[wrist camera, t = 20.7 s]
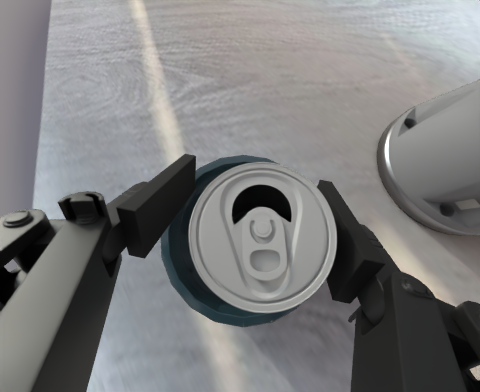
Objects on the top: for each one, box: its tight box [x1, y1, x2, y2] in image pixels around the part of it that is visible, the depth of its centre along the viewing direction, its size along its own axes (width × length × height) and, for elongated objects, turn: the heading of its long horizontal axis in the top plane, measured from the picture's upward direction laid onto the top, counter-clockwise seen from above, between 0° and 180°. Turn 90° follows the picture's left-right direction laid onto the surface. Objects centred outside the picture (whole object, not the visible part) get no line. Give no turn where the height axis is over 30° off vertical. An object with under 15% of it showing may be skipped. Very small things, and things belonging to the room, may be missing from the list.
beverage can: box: [188, 162, 337, 313], centre depth 13 cm, size 6×6×12 cm
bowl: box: [161, 155, 300, 327], centre depth 16 cm, size 12×12×6 cm
